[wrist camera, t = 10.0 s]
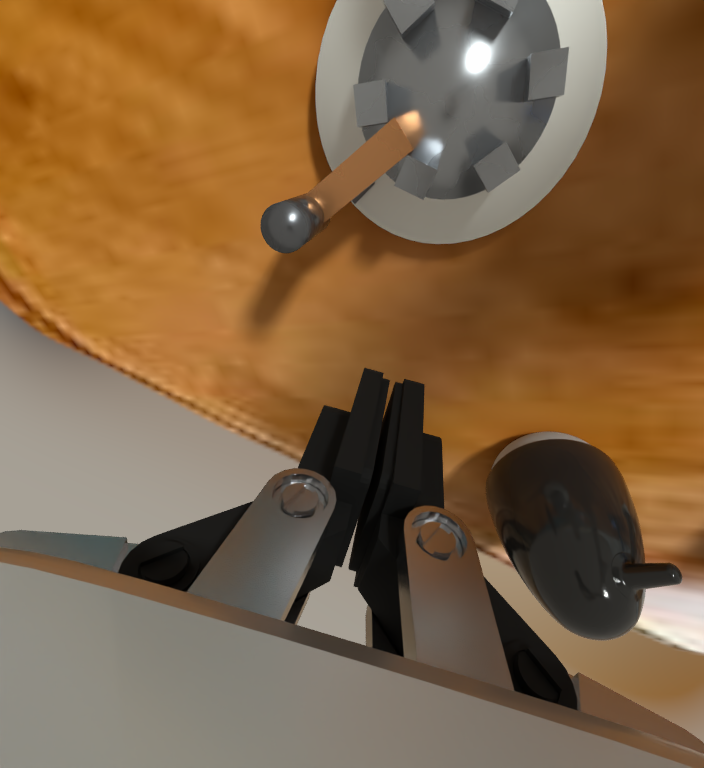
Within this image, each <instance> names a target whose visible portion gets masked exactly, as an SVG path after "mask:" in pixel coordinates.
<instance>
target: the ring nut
mask: <svg viewBox="0 0 704 768" xmlns="http://www.w3.org/2000/svg"><path fill="white" fill-rule="evenodd" d="M383 3H384V6H385V9H384V10H383V12H382V13H381V15H380V16H379V18H378V20H377V22H376V24H375V26H374V28H373V30H372V32H371V34H370V37H369V39H368V42H367V44H366V47H365V50H364V54H363V57H362V61H361V66H360V72H359V78H358V84H355V85H353V89H354V99H355V109H356V120H357V127H359V128H362V131H363V135H364V138H365V140H366V142H365V143H364V144H363V145H362V146H361V147H360V148H359V149H357V150H356V151H355V152H354V153H353V154H352V155H351V156H349V157H348V158H347V159H346V160H345V161H344V162H343V163H341V164H340V165H339V166H338V167H337V168H336V169H335V170H333V171H332V172H331V173H330V174H329V175H328V176H327V177H325V178H324V179H323V180H322V181H321V182H320V183H319V184H317V185H316V186H315V187H314V188H313V189H312V190H311V191H309V192H308V193H306V194H303V195H300V196H297V197H294V198H291V199H288V200H285V201H282V202H279V203H276V204H273V205H271V206H270V207H268V208H267V209H266V210H265V212H264V214H263V216H262V219H261V232H262V235H263V238H264V239H265V241H266V243H267V244H268V245H269V246H270V247H271V248H273V249H274V250H276V251H278V252H281V253H291V252H294V251H296V250H298V249H299V248H300V247H302V246H303V245H304V244H306V243H307V242H308V241H310V240H311V239H312V238H314V237H315V236H317V235H318V234H319V233H321V232H322V231H323V230H324V229H326V227H327V226H328V224H329V222H330V219H331V217H332V216H333V215H334V214H336V213H337V212H338V211H339V210H341V209H342V208H343V207H344V206H345V205H347V204H348V203H349V202H350V201H352V200H353V199H354V198H355V197H357V196H358V195H359V194H360V193H361V192H363V191H364V190H365V189H366V188H368V187H369V186H370V185H371V184H372V183H374V182H375V181H376V180H377V179H379V178H380V177H381V176H382V175H383V174H385V173H386V174H387V175H388V176H389V177H390V178H391V179H392V180H393V181H394V182H395V185H394V186H396V187H398V188H400V189H402V190H404V191H406V192H408V193H410V194H412V195H414V196H416V197H418V198H420V199H422V200H424V198H425V197H427V198H431V199H442V200H445V199H457V198H463V197H467V196H471V195H474V194H477V193H479V192H481V191H484V190H486V191H487V192H488V193H489V192H490V191H492V190H493V189H494V188H496V187H497V186H499V185H500V184H501V183H503V182H504V181H506V180H507V179H509V178H510V177H511V176H513V175H514V174H516V173H517V172H518V171H520V168H519V166H518V165H519V164H520V163H521V162H522V161H523V160H524V159H525V158H526V157H527V155H528V154H529V153H530V152H531V150H532V149H533V147H534V146H535V144H536V143H537V141H538V140H539V138H540V137H541V135H542V133H543V131H544V129H545V127H546V125H547V123H548V120H549V118H550V115H551V113H552V110H553V107H554V104H555V100H556V98H557V97H560V96H562V95H564V91H565V82H566V72H567V63H568V54H569V47H565V48H560V39H559V34H558V29H557V25H556V22H555V19H554V16H553V13H552V10H551V8H550V6H549V5H548V3H547V1H546V0H383Z"/></svg>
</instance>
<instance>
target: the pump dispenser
mask: <svg viewBox="0 0 704 768" xmlns="http://www.w3.org/2000/svg"><path fill="white" fill-rule="evenodd" d="M486 499H487V504H488V508H489V511H490V514H491V517H492V520H493V523H494V526H495V528H496V531H497V533H498V536H499V538H500V540H501V543H502V545H503V547H504V549H505V551H506V553H507V555H508V557H509V559H510V560H511V562H512V564H513V566H514V567H515V569H516V571H517V572H518V574H519V575H520V577H521V578H522V580H523V581H524V583H525V584H526V586H527V587H528V589H529V590H530V591H531V593H532V594H533V595H534V597H535V598H536V599H537V600H538V602H539V603H540V604H541V605H542V607H543V608H544V609H545V610H546V611H547V612H548V613H549V614H550V615H551V616H552V617H553V618H554V619H555V620H556V621H557V622H558V623H559V624H561V625H562V626H563V627H564V628H566V629H567V630H569V631H570V632H572V633H574V634H576V635H578V636H581V637H584V638H587V639H592V640H611V639H615V638H618V637H621V636H623V635H624V634H626V633H627V632H629V631H630V630H631V629H632V628H633V627H634V626H635V625H636V623H637V621H638V620H639V617H640V615H641V612H642V608H643V604H644V599H645V592H646V589H648V588H655V587H663V586H670V585H677V584H680V583H681V582H682V574H681V572H680V570H679V569H678V568H677V567H676V566H675V565H674V564H672V563H645V554H644V546H643V539H642V534H641V529H640V524H639V520H638V516H637V513H636V509H635V506H634V504H633V501H632V498H631V495H630V493H629V490H628V487H627V485H626V483H625V480H624V478H623V476H622V474H621V473H620V471H619V469H618V468H617V466H616V465H615V463H614V462H613V461H612V459H611V458H610V457H609V456H608V455H606V454H605V453H604V452H602V451H601V450H599V449H598V448H596V447H594V446H592V445H590V444H588V443H587V442H585V441H583V440H581V439H579V438H577V437H575V436H572V435H569V434H565V433H560V432H537V433H532V434H528V435H525V436H523V437H520V438H518V439H516V440H515V441H513V442H511V443H510V444H509V445H507V446H506V447H505V448H504V449H503V450H502V451H501V452H500V454H499V455H498V457H497V458H496V460H495V462H494V464H493V466H492V469H491V471H490V473H489V476H488V478H487V482H486Z"/></svg>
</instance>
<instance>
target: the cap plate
mask: <svg viewBox="0 0 704 768" xmlns="http://www.w3.org/2000/svg"><path fill="white" fill-rule="evenodd" d="M546 1H547V3H548V5H549V6H550V8H551V10H552V13H553V16H554V19H555V22H556V25H557V29H558V34H559V39H560V48H565V47H569V54H568V63H567V72H566V82H565V91H564V95H562V96H560V97H557V98H556V100H555V104H554V107H553V110H552V113H551V115H550V118H549V120H548V123H547V125H546V127H545V129H544V131H543V133H542V135H541V137H540V138H539V140H538V141H537V143H536V144H535V146H534V147H533V149H532V150H531V152H530V153H529V154H528V155H527V157H526V158H525V159H524V160H523V161H522V162H521V163H520V164H519V165H518V166H519V168H520V171H518V172H517V173H516V174H514V175H513V176H511V177H510V178H509V179H507V180H506V181H504V182H503V183H501V184H500V185H499V186H497V187H496V188H494V189H493V190H492V191H490V192H489V193H488V192H487V191H486V190H484V191H481V192H479V193H477V194H474V195H471V196H467V197H463V198H457V199H445V200H442V199H431V198H427V197H425V198H424V200H422V199H420V198H418V197H416V196H414V195H412V194H410V193H408V192H406V191H404V190H402V189H400V188H398V187H396V186H394V185H395V182H394V181H393V180H392V179H391V178H390V177H389V176H388V175H387V174H386V173H385V174H383V175H382V176H381V177H380V178H379V179H377V180H376V181H375V182H374V183H372V184H371V185H370V186H369V187H368V188H366V189H365V190H364V191H363V192H361V193H360V194H359V195H358V196H357V197H355V198H354V199H353V200H352V201H351V202H352V203H353V204H354V206H355V207H356V208H357V209H359V210H360V211H361V212H362V213H363V214H364V215H365V216H366V217H367V218H368V219H370V220H371V221H372V222H374V223H375V224H377V225H378V226H379V227H381V228H383V229H385V230H387V231H388V232H390V233H392V234H394V235H397V236H400V237H402V238H405V239H408V240H412V241H417V242H421V243H430V244H452V243H459V242H465V241H470V240H474V239H477V238H480V237H483V236H486V235H489V234H491V233H493V232H495V231H498V230H500V229H502V228H504V227H506V226H507V225H509V224H511V223H512V222H514V221H515V220H517V219H519V218H520V217H522V216H523V215H524V214H525V213H527V212H528V211H529V210H531V209H532V208H533V207H534V206H536V205H537V204H538V203H539V202H540V201H541V200H542V199H543V198H544V197H545V196H546V195H547V194H548V193H549V192H550V191H551V190H552V188H553V187H554V186H555V185H556V184H557V183H558V181H559V180H560V179H561V178H562V177H563V175H564V174H565V172H566V171H567V169H568V168H569V166H570V165H571V163H572V162H573V160H574V159H575V157H576V156H577V154H578V152H579V150H580V148H581V146H582V144H583V143H584V141H585V139H586V137H587V134H588V132H589V129H590V127H591V124H592V122H593V120H594V117H595V114H596V111H597V107H598V104H599V100H600V97H601V93H602V88H603V82H604V77H605V71H606V58H607V31H606V18H605V13H604V7H603V2H602V0H546ZM384 9H385V6H384V3H383V0H337V1H336V3H335V6H334V8H333V10H332V12H331V15H330V17H329V20H328V23H327V27H326V30H325V33H324V36H323V39H322V44H321V49H320V53H319V58H318V65H317V74H316V114H317V123H318V129H319V134H320V138H321V143H322V146H323V149H324V152H325V155H326V158H327V161H328V164H329V166H330V168H331V170H332V171H333V170H335V169H336V168H337V167H338V166H339V165H340V164H341V163H343V162H344V161H345V160H346V159H347V158H348V157H349V156H351V155H352V154H353V153H354V152H355V151H356V150H357V149H359V148H360V147H361V146H362V145H363V144H364V143H365V142H366V140H365V138H364V135H363V131H362V128H359V127H357V120H356V109H355V99H354V89H353V85H355V84H358V78H359V72H360V66H361V61H362V57H363V54H364V50H365V47H366V44H367V42H368V39H369V37H370V34H371V32H372V30H373V28H374V26H375V24H376V22H377V20H378V18H379V16H380V15H381V13H382V12H383V10H384Z"/></svg>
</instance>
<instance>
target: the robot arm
mask: <svg viewBox="0 0 704 768" xmlns="http://www.w3.org/2000/svg"><path fill="white" fill-rule="evenodd" d="M389 382H390V380H387V379H384V378H383V373H382V372H378V371H374V370H371V369H367V368H364V371H363V374H362V378H361V381H360V384H359V387H358V391H357V394H356V397H355V400H354V404H353V407H352V410H351V412H347V411H344V410H340V409H337V408H333V407H330V406H326V405H324V407H323V409H322V411H321V414H320V416H319V418H318V421H317V423H316V426H315V428H314V430H313V433H312V435H311V438H310V440H309V442H308V445H307V447H306V450H305V452H304V454H303V457H302V459H301V462H300V464H299V466H298V469H297V468H294V469H289V470H284V471H282V472H280V473H277V474H275V475H274V476H273V477H272V478H271V479H270V480H269V481H268V482H267V484H266V485H265V486H264V488H263V489H262V491H261V492H260V493H259V495H258V496H257V497H256V499H255V500H254V501H253V502H250V503H247V504H244V505H241V506H238V507H236V508H233V509H230V510H227V511H224V512H221V513H218V514H216V515H213V516H210V517H207V518H205V519H201V520H199V521H196V522H193V523H190V524H187V525H184V526H181V527H179V528H176V529H173V530H170V531H167V532H165V533H162V534H159V535H156V536H154V537H152V538H149V539H147V540H145V541H143V542H141V543H140V544H133V543H127V538H126V537H112V536H97V535H83V534H68V533H55V532H39V531H26V530H17V531H5V532H2V533H0V768H704V743H703V742H702V741H701V740H699V739H698V738H697V737H695V736H694V735H692V734H691V733H689V732H688V731H687V730H685V729H683V728H682V727H680V726H678V725H676V724H674V723H672V722H670V721H668V720H667V719H665V718H663V717H661V716H659V715H657V714H655V713H654V712H652V711H650V710H648V709H646V708H644V707H642V706H641V705H639V704H637V703H635V702H633V701H631V700H629V699H627V698H626V697H624V696H622V695H620V694H618V693H616V692H614V691H613V690H611V689H609V688H607V687H605V686H603V685H601V684H599V683H598V682H596V681H594V680H592V679H590V678H588V677H586V676H584V675H583V674H581V673H577V674H576V675H575V676H572V675H570V674H568V672H567V670H566V669H565V667H564V666H563V665H562V663H561V662H560V661H559V660H558V658H557V657H556V655H555V654H554V653H553V652H552V651H551V650H550V649H549V648H548V647H547V645H546V644H545V643H544V642H543V641H542V640H541V639H540V638H539V637H538V636H537V635H536V633H535V632H534V631H533V630H532V629H531V628H530V627H529V626H528V625H527V623H525V621H524V620H523V619H522V618H521V617H520V616H519V615H518V614H517V613H516V611H515V610H514V609H513V608H512V607H511V606H510V605H509V604H508V603H507V602H506V600H505V599H504V598H503V597H502V596H501V595H500V594H499V593H498V592H497V591H496V589H495V588H494V587H493V586H492V585H491V584H490V583H489V582H488V581H487V580H486V578H485V577H484V576H483V573H482V568H481V565H480V561H479V557H478V553H477V550H476V546H475V542H474V539H473V537H472V535H471V532H470V530H469V529H468V528H467V527H466V525H465V524H464V523H463V522H462V521H461V520H460V519H459V518H458V517H457V516H455V515H454V514H452V513H451V512H449V511H447V510H445V509H444V491H443V460H442V440H441V438H440V437H436V436H433V435H429V434H425V433H423V415H424V384H421V383H418V382H414V381H410V380H407V379H404V381H403V384H402V383H398V382H395V385H394V388H393V391H392V394H391V397H390V400H389V403H388V406H387V409H386V412H385V415H384V410H385V404H386V398H387V393H388V387H389ZM383 415H384V418H383ZM357 521H358V522H357ZM356 524H357V528H356V532H355V537H354V543H353V548H352V553H351V558H350V563H349V569H350V570H353V571H356V577H355V582H354V586H355V587H358V590H359V592H360V593H361V595H362V596H363V598H364V599H365V601H366V602H367V604H368V606H367V610H366V646H365V645H361V644H358V643H355V642H351V641H348V640H345V639H341V638H338V637H335V636H331V635H328V634H324V633H321V632H318V631H315V630H311V629H308V628H305V627H301V626H298V625H297V623H298V621H299V619H300V617H301V614H302V612H303V610H304V608H305V605H306V603H307V601H308V599H309V595H310V592H311V591H312V590H314V589H316V588H318V587H320V586H321V585H323V584H325V583H327V582H329V581H330V579H331V576H332V573H333V570H334V567H335V565H336V566H340V567H342V565H343V562H344V558H345V556H346V553H347V550H348V547H349V544H350V541H351V538H352V535H353V532H354V529H355V526H356Z"/></svg>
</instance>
